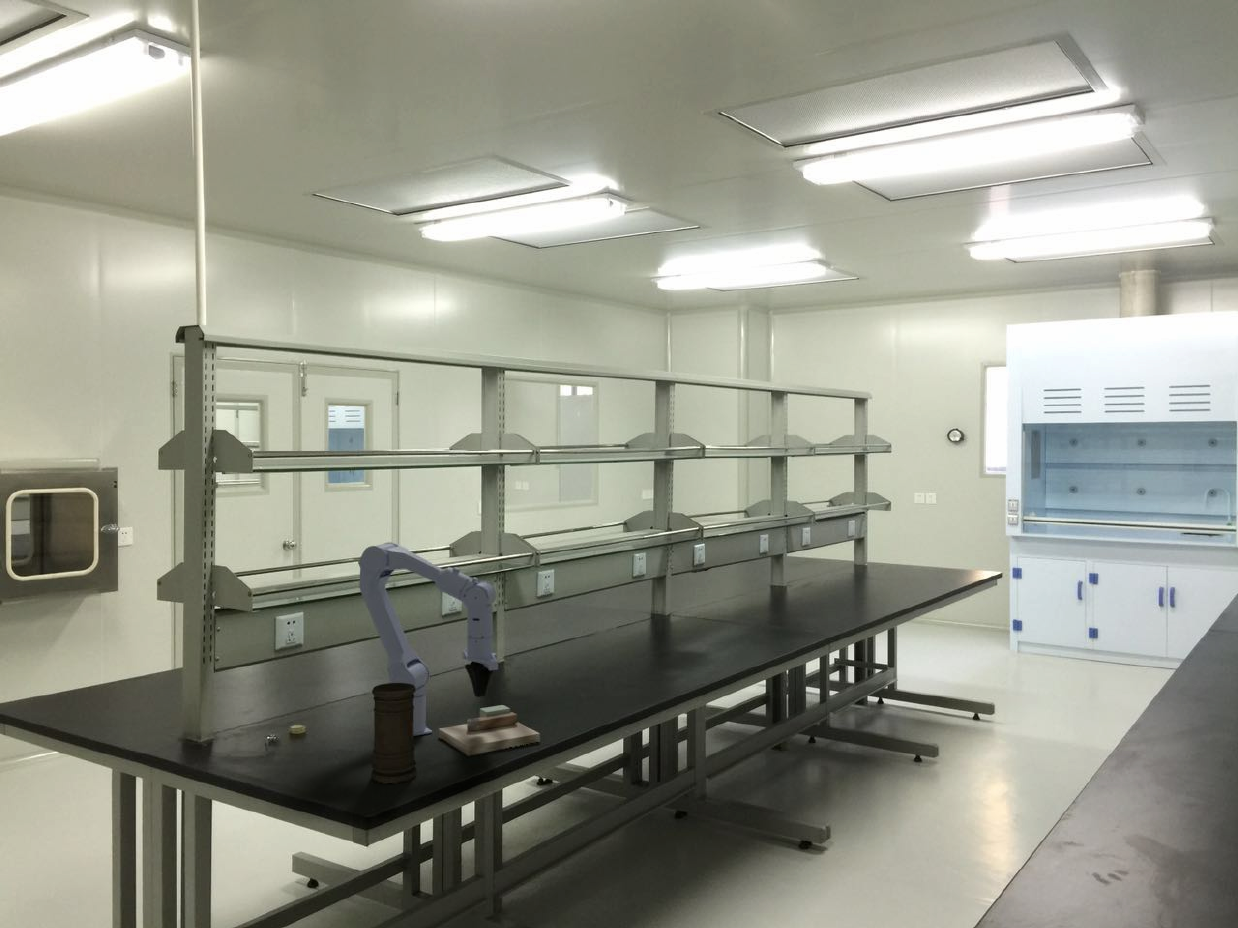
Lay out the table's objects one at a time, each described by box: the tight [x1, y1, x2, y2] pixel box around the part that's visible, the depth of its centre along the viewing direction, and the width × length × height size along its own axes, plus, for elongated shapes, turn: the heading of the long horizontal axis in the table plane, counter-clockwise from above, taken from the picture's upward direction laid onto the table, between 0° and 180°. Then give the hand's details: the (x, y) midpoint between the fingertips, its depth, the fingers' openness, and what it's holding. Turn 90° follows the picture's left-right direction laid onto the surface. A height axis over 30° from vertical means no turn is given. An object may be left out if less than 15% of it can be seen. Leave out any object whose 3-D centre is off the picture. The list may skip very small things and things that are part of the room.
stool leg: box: [466, 711, 518, 731], centre depth 226 cm, size 12×3×2 cm, turn 125°
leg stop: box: [479, 704, 511, 718], centre depth 231 cm, size 6×4×3 cm, turn 124°
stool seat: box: [438, 721, 541, 756], centre depth 224 cm, size 18×16×2 cm
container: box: [370, 682, 417, 784], centre depth 199 cm, size 9×9×18 cm
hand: (479, 695), depth 226 cm, fingers closed
